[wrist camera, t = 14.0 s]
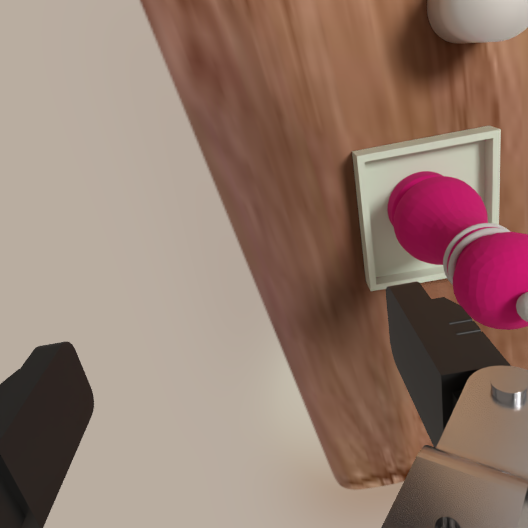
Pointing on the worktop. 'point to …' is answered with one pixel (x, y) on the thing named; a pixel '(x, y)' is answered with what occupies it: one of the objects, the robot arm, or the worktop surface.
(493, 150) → the tray
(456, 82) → the worktop surface
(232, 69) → the worktop surface
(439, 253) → the pepper mill
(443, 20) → the grey rounded block
